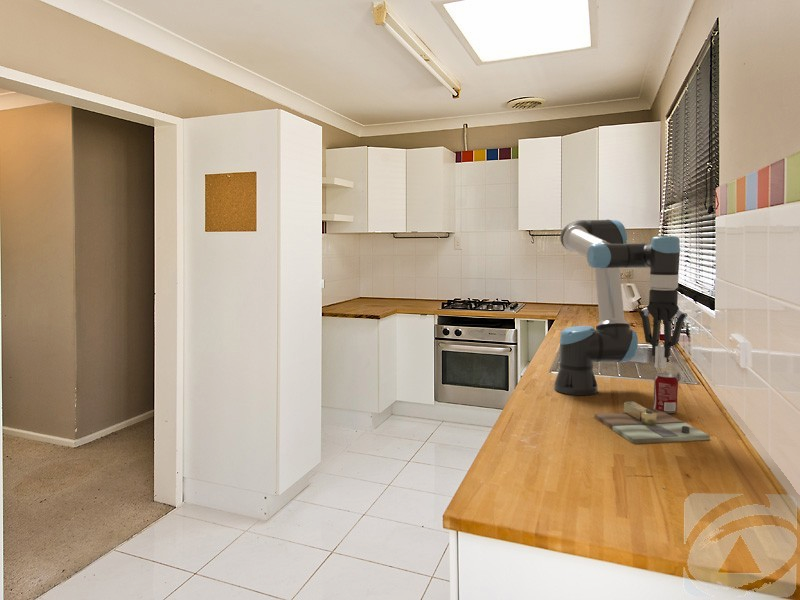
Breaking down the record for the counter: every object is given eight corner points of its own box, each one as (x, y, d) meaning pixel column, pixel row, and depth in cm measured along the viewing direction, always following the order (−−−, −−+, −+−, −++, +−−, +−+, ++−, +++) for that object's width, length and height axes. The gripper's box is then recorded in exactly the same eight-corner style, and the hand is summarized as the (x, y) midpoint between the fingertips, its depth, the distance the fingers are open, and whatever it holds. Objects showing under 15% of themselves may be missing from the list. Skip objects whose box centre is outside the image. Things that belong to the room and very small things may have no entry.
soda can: (679, 415, 166) (681, 377, 165) (656, 414, 167) (657, 376, 166) (673, 408, 172) (674, 372, 171) (650, 407, 174) (652, 371, 173)
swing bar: (659, 424, 152) (659, 411, 152) (645, 425, 152) (646, 412, 152) (634, 410, 165) (634, 398, 165) (622, 411, 165) (622, 399, 165)
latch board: (594, 417, 164) (594, 409, 164) (661, 414, 166) (661, 406, 166) (633, 443, 142) (633, 433, 142) (709, 439, 145) (710, 430, 144)
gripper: (693, 289, 154) (689, 369, 157) (643, 287, 164) (640, 362, 166) (685, 291, 149) (682, 373, 151) (634, 288, 159) (631, 366, 161)
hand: (660, 367), depth 159 cm, fingers closed
